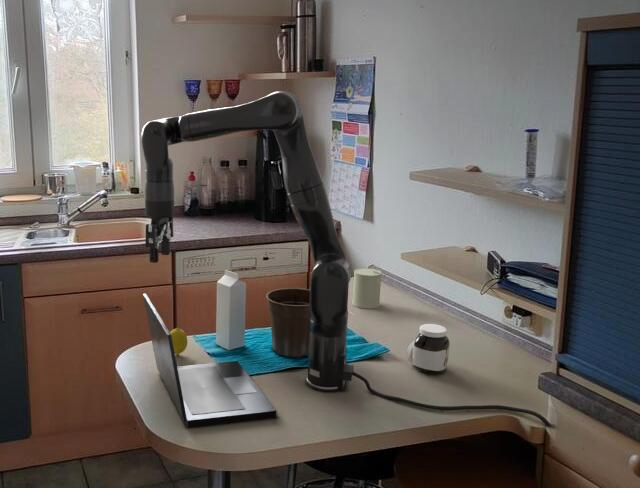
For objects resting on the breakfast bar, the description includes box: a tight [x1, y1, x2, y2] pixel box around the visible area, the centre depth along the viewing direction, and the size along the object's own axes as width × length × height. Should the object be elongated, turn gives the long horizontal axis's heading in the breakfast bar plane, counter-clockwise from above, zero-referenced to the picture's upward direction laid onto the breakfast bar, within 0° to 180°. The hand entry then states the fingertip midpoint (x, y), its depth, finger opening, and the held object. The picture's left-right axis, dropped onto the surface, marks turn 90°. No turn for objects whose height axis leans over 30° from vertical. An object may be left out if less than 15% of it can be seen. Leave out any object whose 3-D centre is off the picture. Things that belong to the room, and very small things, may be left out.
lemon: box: [169, 327, 188, 356], centre depth 204 cm, size 6×6×8 cm
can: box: [351, 267, 383, 310], centre depth 249 cm, size 9×9×12 cm
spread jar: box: [406, 323, 450, 375], centre depth 198 cm, size 12×11×12 cm
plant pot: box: [265, 287, 310, 358], centre depth 208 cm, size 16×16×16 cm
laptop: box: [177, 360, 278, 429], centre depth 180 cm, size 21×30×2 cm
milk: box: [215, 269, 247, 351], centre depth 210 cm, size 6×6×22 cm
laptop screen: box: [142, 292, 187, 422], centre depth 175 cm, size 21×30×1 cm
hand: (159, 258), depth 193 cm, fingers open, 8 cm apart
